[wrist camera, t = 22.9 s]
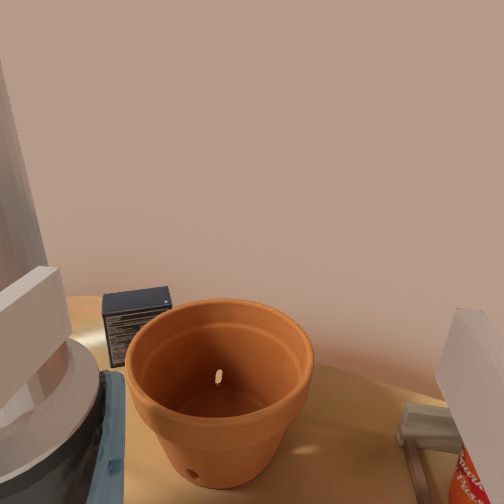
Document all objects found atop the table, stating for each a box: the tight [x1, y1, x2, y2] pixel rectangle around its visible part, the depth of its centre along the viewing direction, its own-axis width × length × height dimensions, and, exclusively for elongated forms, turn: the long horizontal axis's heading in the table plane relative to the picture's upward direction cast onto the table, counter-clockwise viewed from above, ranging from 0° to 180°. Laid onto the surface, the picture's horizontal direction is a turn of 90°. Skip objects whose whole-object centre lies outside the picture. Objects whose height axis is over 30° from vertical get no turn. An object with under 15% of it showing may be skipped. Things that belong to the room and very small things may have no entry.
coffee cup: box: [449, 442, 491, 504], centre depth 38 cm, size 8×8×15 cm
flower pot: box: [125, 299, 314, 489], centre depth 45 cm, size 21×21×15 cm
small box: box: [102, 286, 172, 368], centre depth 61 cm, size 11×6×10 cm, turn 108°
